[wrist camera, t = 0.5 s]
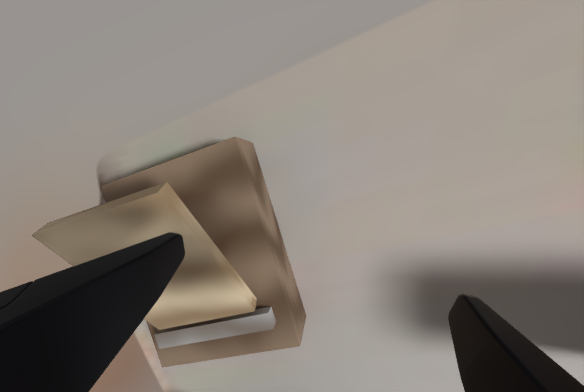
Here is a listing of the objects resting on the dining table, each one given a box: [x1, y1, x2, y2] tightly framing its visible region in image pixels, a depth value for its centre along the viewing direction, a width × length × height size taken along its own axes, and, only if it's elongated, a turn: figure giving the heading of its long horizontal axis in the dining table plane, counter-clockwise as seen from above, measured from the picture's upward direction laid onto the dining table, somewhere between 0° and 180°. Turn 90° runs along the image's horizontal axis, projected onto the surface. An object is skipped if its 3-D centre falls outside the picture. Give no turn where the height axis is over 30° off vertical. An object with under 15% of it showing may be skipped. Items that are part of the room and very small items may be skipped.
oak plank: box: [32, 182, 257, 330], centre depth 18 cm, size 13×10×1 cm
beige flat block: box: [101, 137, 306, 367], centre depth 24 cm, size 20×15×6 cm
